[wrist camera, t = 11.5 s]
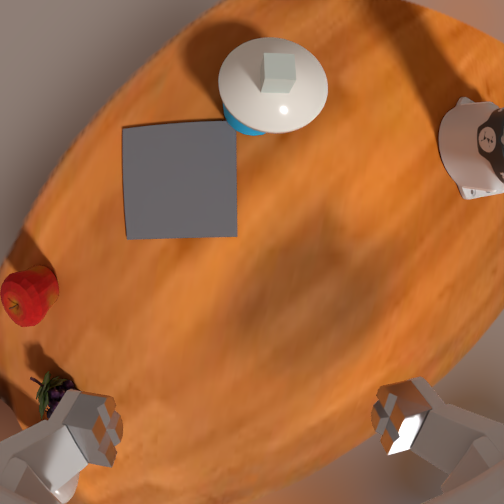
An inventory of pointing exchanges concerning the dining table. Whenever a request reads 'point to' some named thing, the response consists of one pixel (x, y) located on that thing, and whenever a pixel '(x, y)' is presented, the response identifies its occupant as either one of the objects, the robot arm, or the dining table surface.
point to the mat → (180, 180)
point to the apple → (29, 295)
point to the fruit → (51, 392)
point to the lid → (272, 85)
